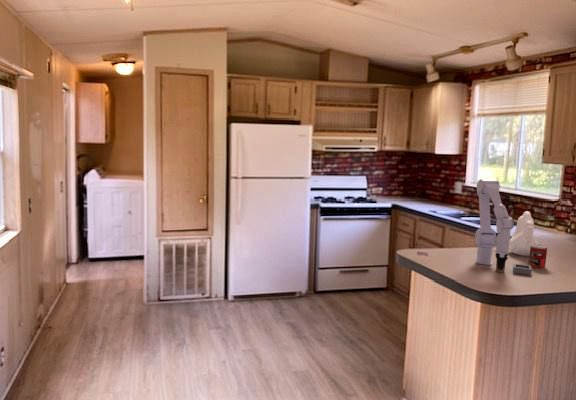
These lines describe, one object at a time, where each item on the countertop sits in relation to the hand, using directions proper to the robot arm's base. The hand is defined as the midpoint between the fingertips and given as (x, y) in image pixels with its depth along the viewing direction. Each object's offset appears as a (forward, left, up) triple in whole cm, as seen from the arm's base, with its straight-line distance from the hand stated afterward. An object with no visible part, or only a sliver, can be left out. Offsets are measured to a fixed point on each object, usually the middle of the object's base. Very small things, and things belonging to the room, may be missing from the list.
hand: (500, 268), depth 255 cm
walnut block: (0, 0, -1) cm, 1 cm away
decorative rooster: (-45, +12, -2) cm, 47 cm away
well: (-3, +10, -1) cm, 11 cm away
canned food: (-21, +18, -2) cm, 28 cm away
